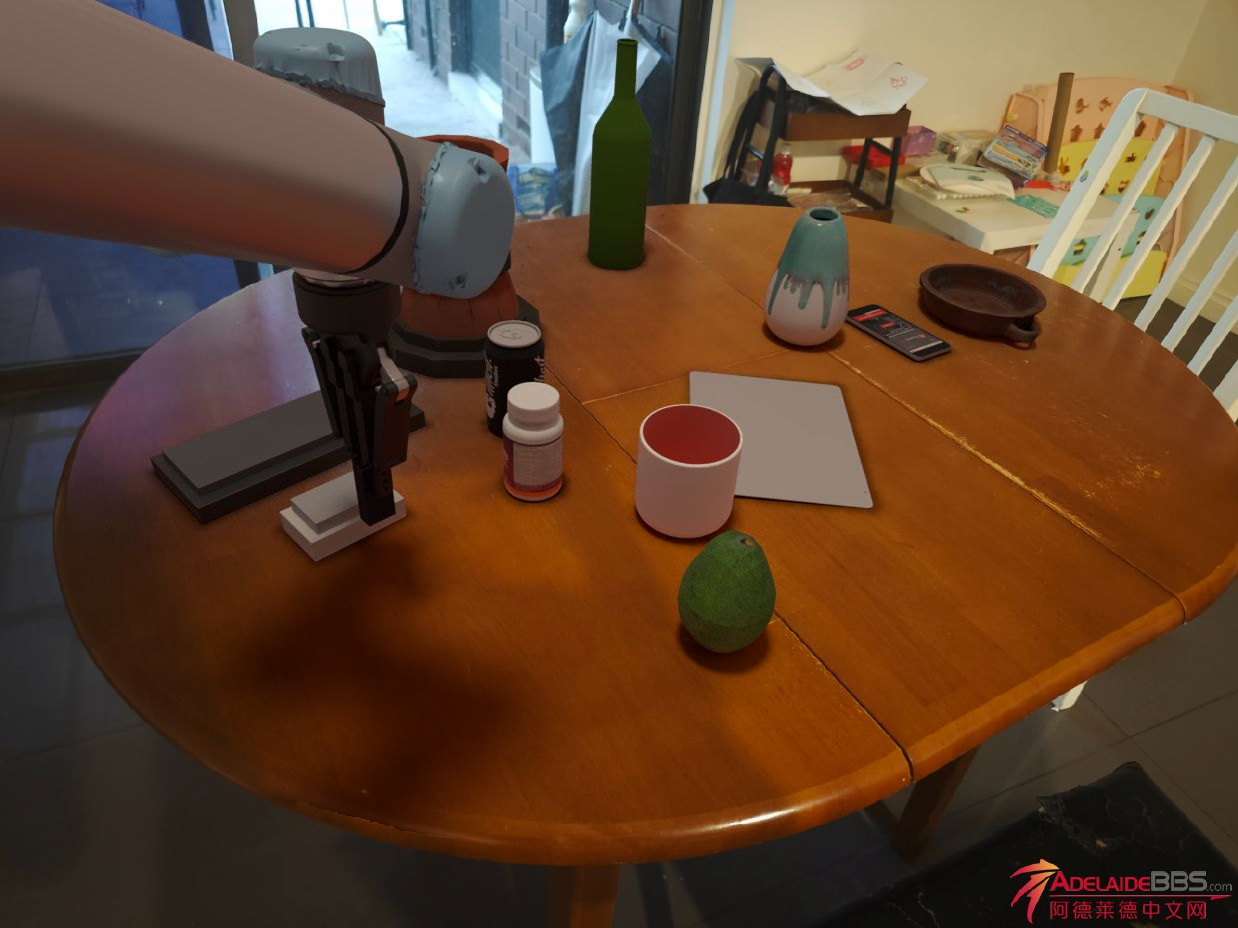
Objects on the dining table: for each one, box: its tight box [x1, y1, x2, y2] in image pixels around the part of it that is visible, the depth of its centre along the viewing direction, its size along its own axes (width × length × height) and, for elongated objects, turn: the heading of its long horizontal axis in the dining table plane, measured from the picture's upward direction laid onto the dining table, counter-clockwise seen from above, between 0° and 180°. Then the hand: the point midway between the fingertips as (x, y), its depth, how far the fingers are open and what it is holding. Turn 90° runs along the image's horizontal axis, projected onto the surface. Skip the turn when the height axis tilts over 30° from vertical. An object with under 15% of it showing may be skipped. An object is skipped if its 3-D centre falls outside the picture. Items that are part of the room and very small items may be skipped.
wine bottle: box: [587, 37, 653, 271], centre depth 129 cm, size 9×9×32 cm
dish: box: [918, 263, 1047, 344], centre depth 128 cm, size 18×22×5 cm
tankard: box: [389, 133, 541, 379], centre depth 108 cm, size 22×25×25 cm
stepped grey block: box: [279, 470, 407, 563], centre depth 83 cm, size 10×6×4 cm, turn 135°
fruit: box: [676, 530, 777, 654], centre depth 71 cm, size 8×8×12 cm
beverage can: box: [484, 320, 546, 436], centre depth 96 cm, size 7×7×12 cm
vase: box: [762, 205, 851, 347], centre depth 116 cm, size 12×12×18 cm
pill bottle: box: [502, 382, 565, 502], centre depth 87 cm, size 6×6×11 cm
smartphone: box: [845, 303, 953, 362], centre depth 123 cm, size 7×1×15 cm
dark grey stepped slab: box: [149, 389, 426, 525], centre depth 93 cm, size 26×11×3 cm, turn 136°
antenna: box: [689, 370, 874, 509], centre depth 101 cm, size 25×24×1 cm
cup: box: [634, 403, 743, 539], centre depth 85 cm, size 10×10×10 cm
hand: (378, 516), depth 76 cm, fingers closed
